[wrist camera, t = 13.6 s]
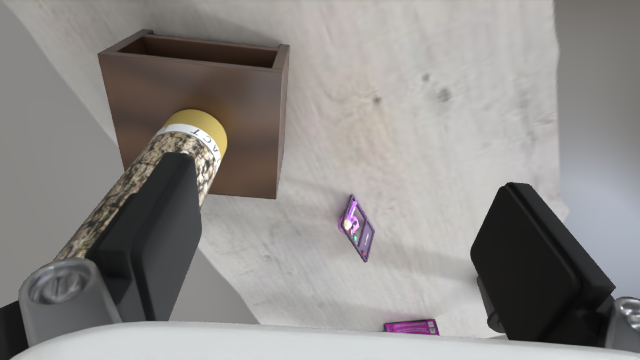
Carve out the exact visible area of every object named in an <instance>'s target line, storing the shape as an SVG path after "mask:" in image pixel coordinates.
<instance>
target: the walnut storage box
mask: <svg viewBox="0 0 640 360" xmlns="http://www.w3.org/2000/svg"><path fill="white" fill-rule="evenodd" d="M289 49H290V46H289V45H282V44H280V47H279V48H272V47H263V46H253V45H244V44H235V43H226V42H216V41H207V40H198V39H189V38H180V37H170V36H161V35H153V31H152V30H145V29H142V30H141V31H139V32H137V33H135V34H133V35H131V36H130V37H128V38H126V39H124V40H122V41H120V42H119V43H117V44H115V45H113V46H111V47H109V48H107V49H106V50H104V51H102V52H100V53H98V58H99V63H100V67H101V71H102V76H103V80H104V84H105V88H106V93H107V97H108V101H109V106H110V110H111V114H112V119H113V123H114V127H115V132H116V136H117V140H118V145H119V149H120V153H121V158H122V162H123V166H124V170H125V171H126V170H127V169H128V168H129V166H130V165H131V164H132V163H133V162H134V160H135V159H136V158H137V157H138V155H139V154H140V153H141V152H142V151H143V149H144V148H145V147H146V146H147V144H148V143H149V142H150V141H151V139H152V138H153V137H154V136H155V135H156V133H157V132H158V131H159V130H160V129H161V128H162V126H163V125H164V124H165V123H166V122H167V120H168V119H169V118H170V117H171V116H172V115H174V114H175V113H177V112H179V111H182V110H187V109H194V110H199V111H203V112H205V113H207V114H209V115H211V116H212V117H214V118H215V119H216V120H217V121H218V122H219V123H220V124H221V125H222V127H223V128H224V130H225V133H226V136H227V148H226V151H225V153H224V156H223V158H222V160H221V163H220V165H219V168H218V170H217V172H216V175H215V177H214V179H213V182H212V184H211V186H210V189H209V191H208V193H207V194H217V195H229V196H241V197H253V198H265V199H276V197H277V191H278V185H279V179H280V173H281V167H282V160H283V153H284V136H285V118H286V101H287V84H288V66H289Z"/></svg>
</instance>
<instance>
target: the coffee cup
mask: <svg viewBox="0 0 640 360" xmlns="http://www.w3.org/2000/svg"><path fill="white" fill-rule="evenodd" d="M477 283H478V286H479V289H480V293H481V296H482V299H483V303H484V306H485V309H486V313H487V316H488V319H487V324H488V326H489V327H490V328H491V329H493V330H494V331H496V332H498V333H505V331H504V329H503V326H502V324H501V322H500V320H499V318H498V316H497V314H496V311H495V309H494V307H493V305H492V303H491V301H490V299H489V296H488V294H487V292H486V290H485V288H484V286H483V283H482V281H481V279H480V277H479V276H478V278H477Z"/></svg>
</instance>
